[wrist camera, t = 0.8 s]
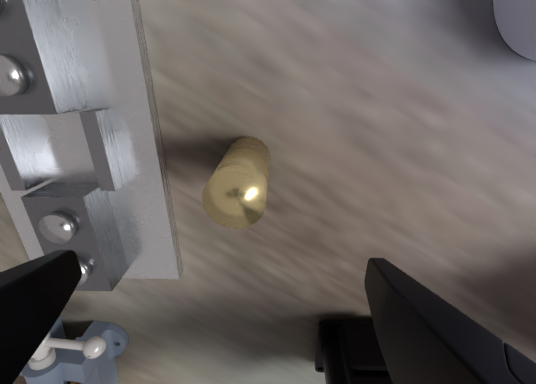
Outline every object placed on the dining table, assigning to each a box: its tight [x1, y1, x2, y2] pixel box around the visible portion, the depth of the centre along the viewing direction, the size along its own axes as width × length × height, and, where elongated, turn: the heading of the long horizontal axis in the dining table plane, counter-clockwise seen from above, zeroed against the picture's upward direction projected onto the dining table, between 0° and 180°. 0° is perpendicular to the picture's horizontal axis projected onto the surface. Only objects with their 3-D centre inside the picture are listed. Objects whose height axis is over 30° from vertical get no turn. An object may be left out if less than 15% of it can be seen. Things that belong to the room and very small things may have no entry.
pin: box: [202, 137, 270, 229], centre depth 16 cm, size 3×3×7 cm
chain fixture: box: [0, 0, 183, 291], centre depth 17 cm, size 22×12×4 cm, turn 0°
